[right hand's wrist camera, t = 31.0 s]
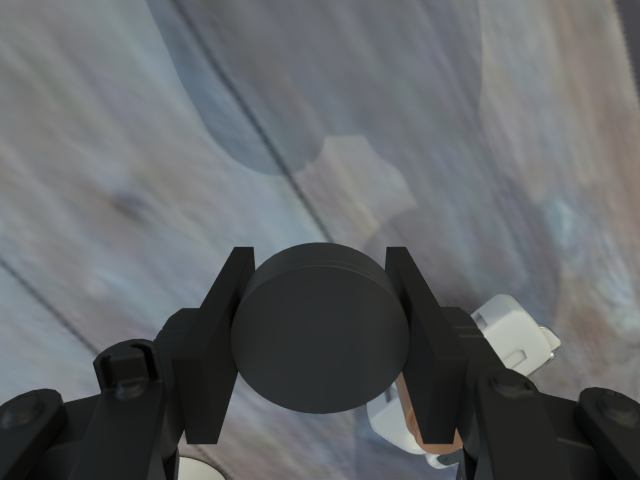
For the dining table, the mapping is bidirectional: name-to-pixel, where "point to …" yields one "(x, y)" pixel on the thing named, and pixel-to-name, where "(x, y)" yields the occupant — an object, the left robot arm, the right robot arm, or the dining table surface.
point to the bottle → (413, 426)
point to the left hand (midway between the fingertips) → (400, 333)
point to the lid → (320, 329)
